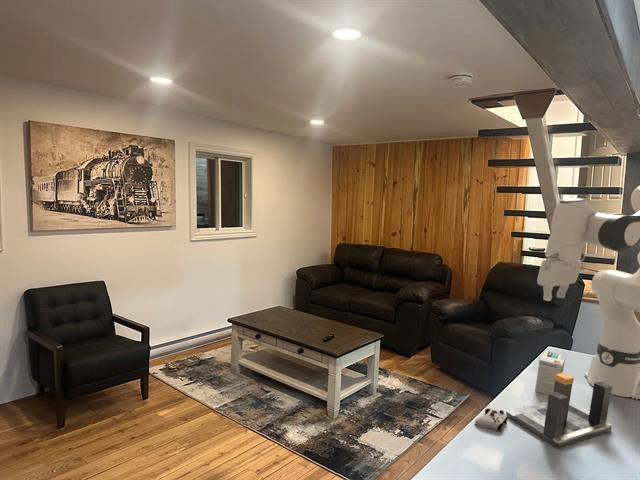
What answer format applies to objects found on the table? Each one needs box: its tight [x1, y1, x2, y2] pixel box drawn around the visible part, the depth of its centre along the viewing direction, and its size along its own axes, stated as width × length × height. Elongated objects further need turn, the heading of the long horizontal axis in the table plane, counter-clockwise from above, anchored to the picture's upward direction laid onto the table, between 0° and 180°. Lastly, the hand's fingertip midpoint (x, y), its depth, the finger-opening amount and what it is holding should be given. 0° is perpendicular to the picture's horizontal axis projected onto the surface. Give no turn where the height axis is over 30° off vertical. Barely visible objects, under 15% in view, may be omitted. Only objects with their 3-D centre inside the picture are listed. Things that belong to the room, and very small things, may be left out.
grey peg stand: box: [505, 382, 613, 450], centre depth 119 cm, size 22×16×12 cm
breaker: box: [553, 372, 575, 421], centre depth 119 cm, size 3×3×12 cm
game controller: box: [474, 407, 509, 432], centre depth 118 cm, size 10×5×6 cm
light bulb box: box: [534, 350, 566, 396], centre depth 141 cm, size 11×7×11 cm, turn 146°
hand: (553, 298), depth 128 cm, fingers open, 8 cm apart
